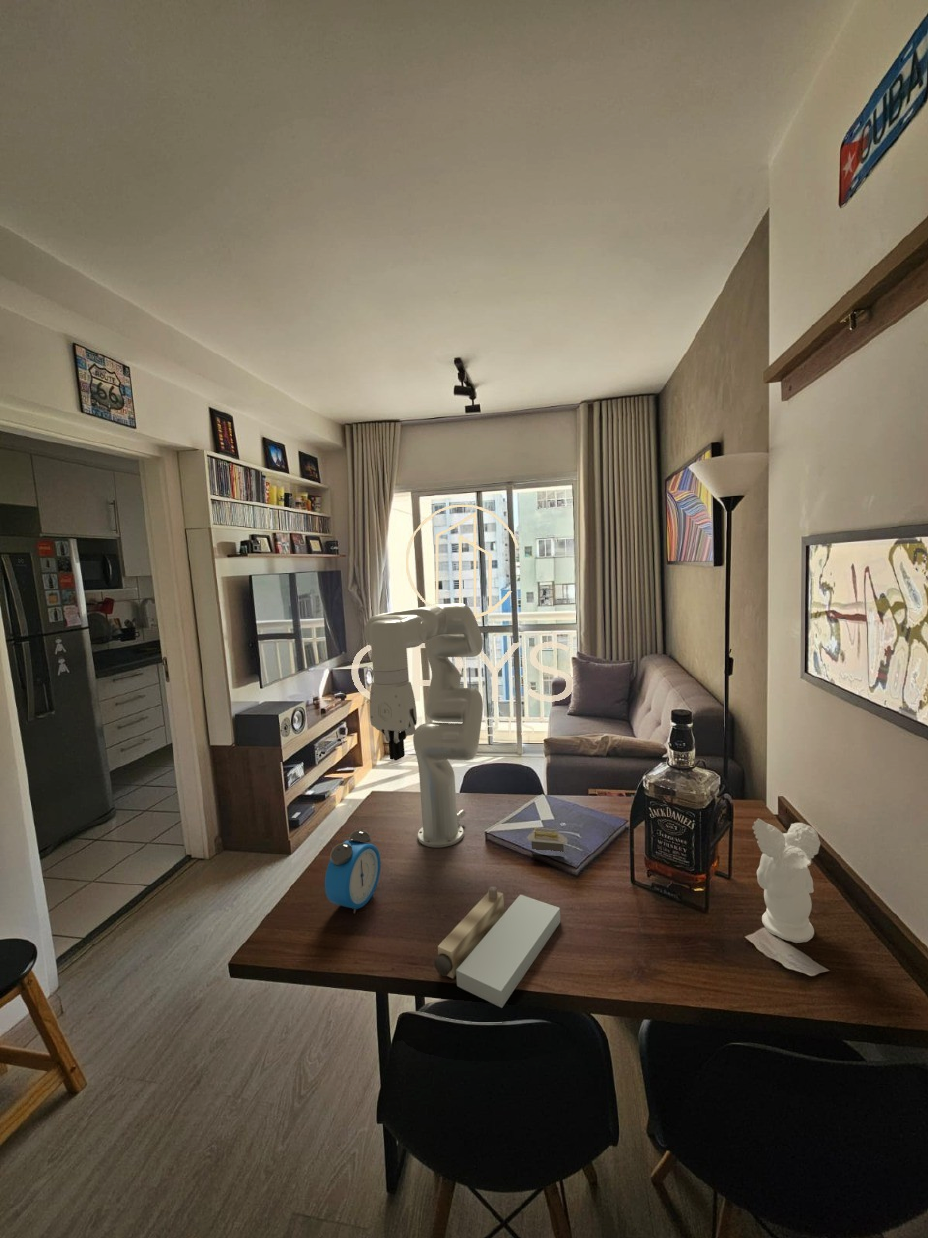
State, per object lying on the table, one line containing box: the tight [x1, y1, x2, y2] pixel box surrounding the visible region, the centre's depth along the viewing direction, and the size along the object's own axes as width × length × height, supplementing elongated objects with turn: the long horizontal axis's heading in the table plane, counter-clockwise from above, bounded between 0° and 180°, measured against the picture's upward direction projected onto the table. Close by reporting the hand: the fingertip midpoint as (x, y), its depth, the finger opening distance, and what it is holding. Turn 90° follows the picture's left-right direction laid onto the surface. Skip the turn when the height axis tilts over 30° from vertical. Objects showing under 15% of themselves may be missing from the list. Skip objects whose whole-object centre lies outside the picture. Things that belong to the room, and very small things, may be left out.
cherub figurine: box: [752, 817, 821, 944], centre depth 97 cm, size 12×12×22 cm
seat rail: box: [455, 894, 561, 1009], centre depth 98 cm, size 24×9×3 cm, turn 146°
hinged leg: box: [433, 886, 505, 979], centre depth 100 cm, size 20×3×6 cm, turn 147°
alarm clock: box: [324, 828, 382, 914], centre depth 115 cm, size 13×6×15 cm, turn 156°
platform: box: [526, 827, 569, 853], centre depth 130 cm, size 12×18×7 cm, turn 75°
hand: (397, 757), depth 115 cm, fingers closed
